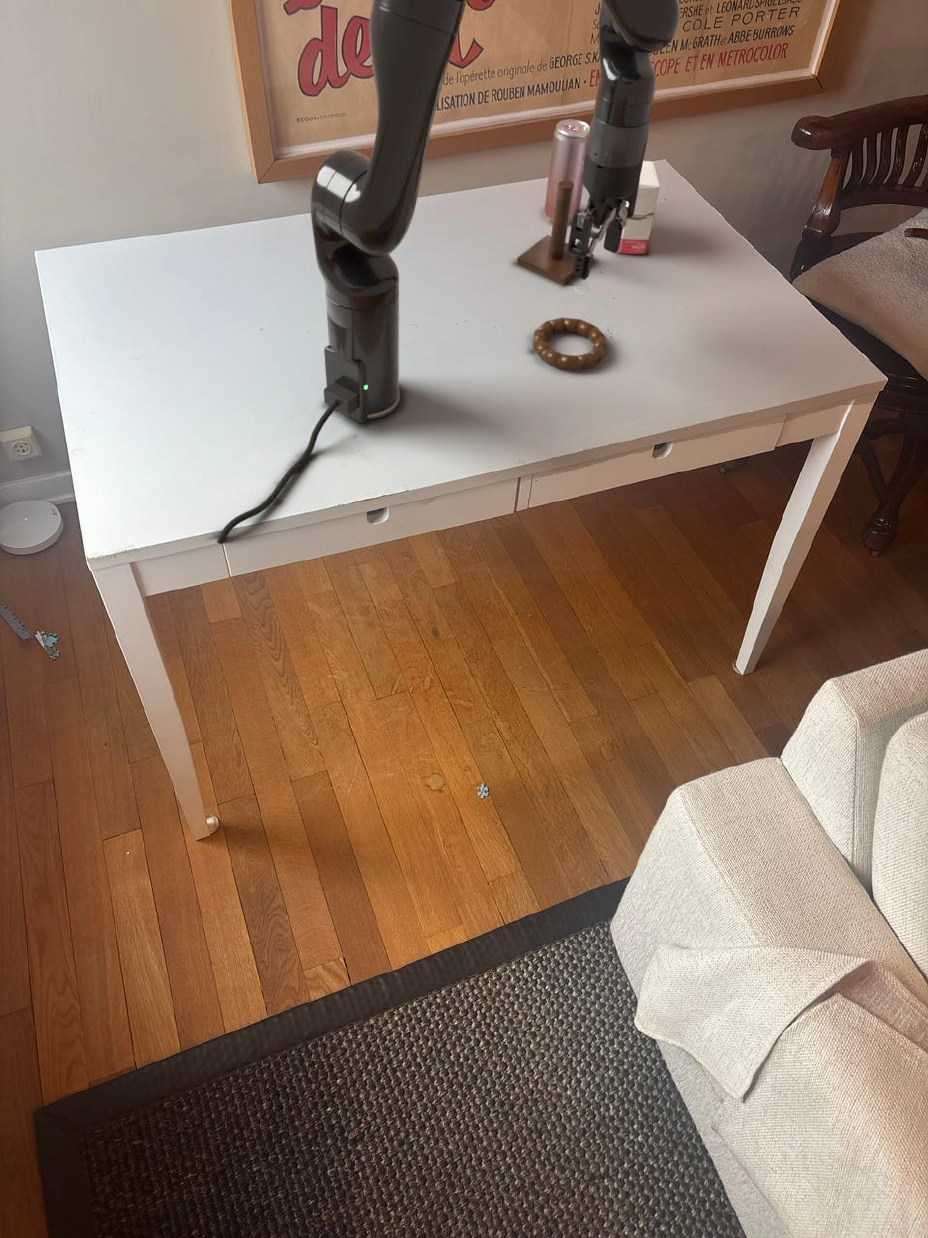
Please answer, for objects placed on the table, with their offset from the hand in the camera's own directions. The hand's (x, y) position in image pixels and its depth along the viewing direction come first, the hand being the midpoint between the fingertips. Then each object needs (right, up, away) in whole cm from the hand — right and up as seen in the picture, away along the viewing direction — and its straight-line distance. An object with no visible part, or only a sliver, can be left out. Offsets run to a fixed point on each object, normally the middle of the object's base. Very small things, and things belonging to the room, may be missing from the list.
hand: (595, 263), depth 137 cm
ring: (-3, -10, +6) cm, 12 cm away
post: (-4, +8, +20) cm, 22 cm away
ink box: (+9, +13, +26) cm, 30 cm away
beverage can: (-2, +19, +29) cm, 35 cm away
